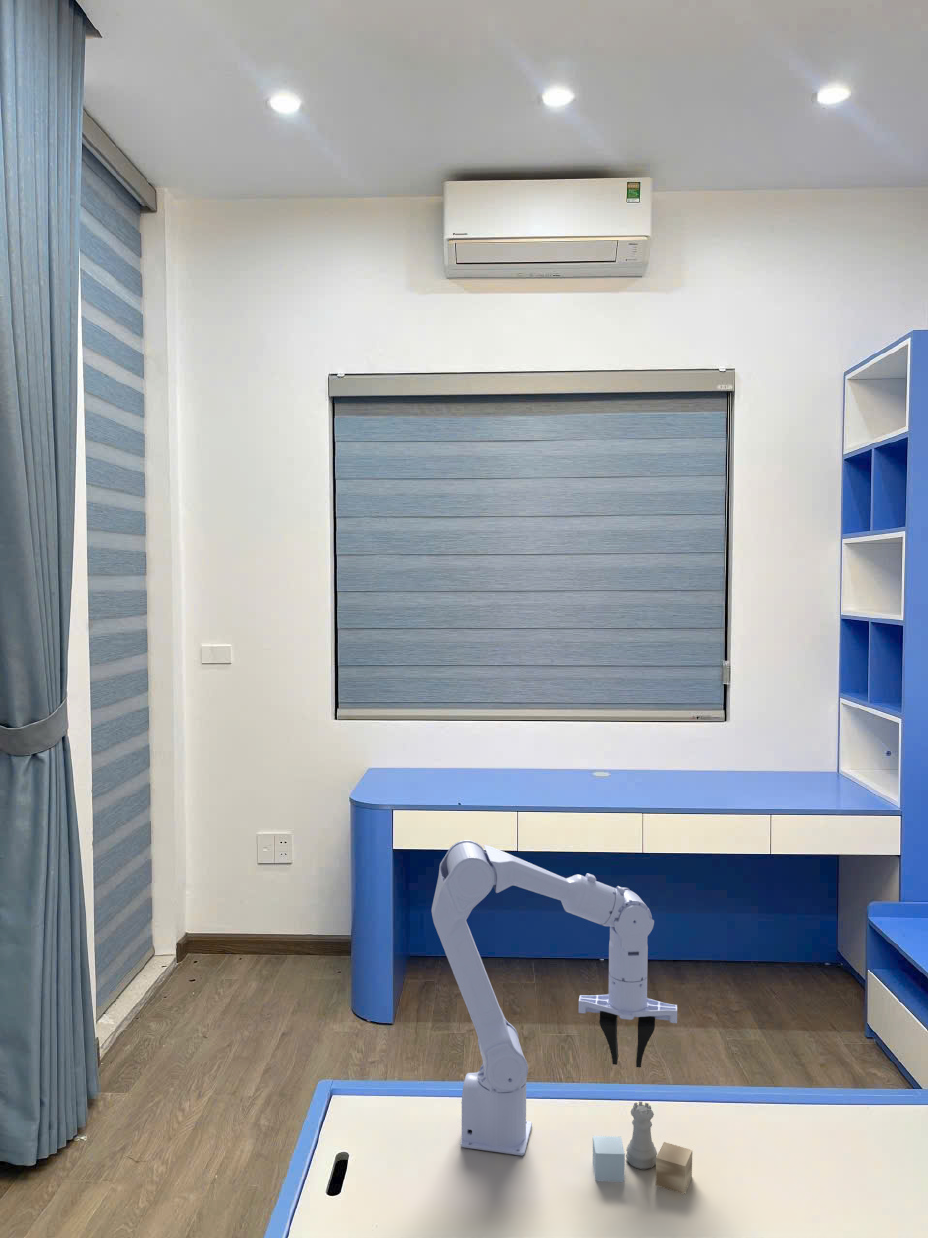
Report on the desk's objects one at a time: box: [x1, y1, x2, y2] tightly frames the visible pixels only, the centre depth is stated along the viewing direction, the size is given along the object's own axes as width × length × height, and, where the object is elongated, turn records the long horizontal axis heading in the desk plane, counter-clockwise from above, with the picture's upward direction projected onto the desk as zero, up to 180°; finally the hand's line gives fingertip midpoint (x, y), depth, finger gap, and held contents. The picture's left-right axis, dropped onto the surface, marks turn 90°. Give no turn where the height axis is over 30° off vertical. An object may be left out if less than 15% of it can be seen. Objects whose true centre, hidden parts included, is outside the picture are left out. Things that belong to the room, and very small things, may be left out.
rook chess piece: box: [625, 1101, 658, 1170], centre depth 131 cm, size 4×4×8 cm
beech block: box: [655, 1141, 693, 1195], centre depth 127 cm, size 4×4×4 cm
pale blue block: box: [592, 1135, 626, 1183], centre depth 129 cm, size 4×4×4 cm
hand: (626, 1062), depth 139 cm, fingers open, 3 cm apart
